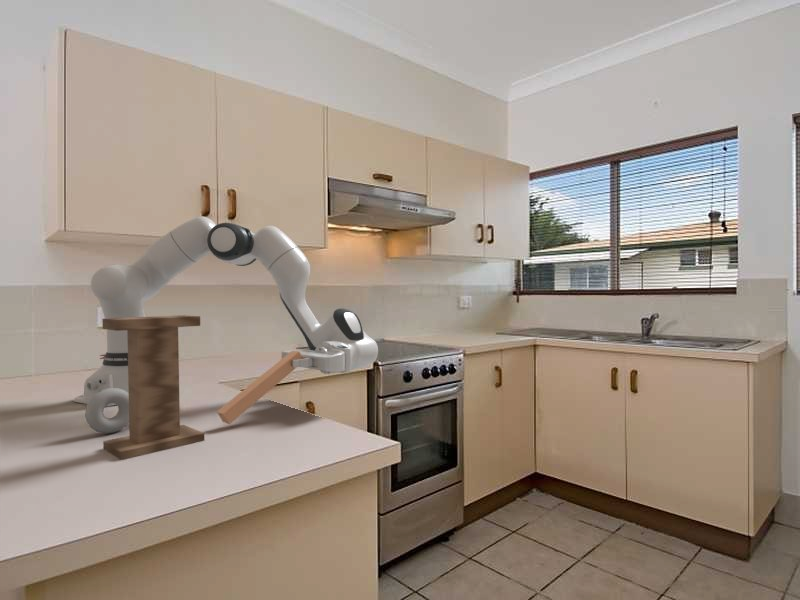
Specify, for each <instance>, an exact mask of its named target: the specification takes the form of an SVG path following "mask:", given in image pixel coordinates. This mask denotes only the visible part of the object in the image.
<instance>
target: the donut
mask: <svg viewBox="0 0 800 600" xmlns="http://www.w3.org/2000/svg"><path fill="white" fill-rule="evenodd" d="M110 403H115V404H117V405H116V406H117V408H118V411H117V413H116V414H115V415H114V416H112V417H106V416H105V414H104V410H105V408H106V407H108V406H107V405H108V404H110ZM84 415H85V421H86V423H87V424H88V426H89V427H90V428H91V429H92V430H94V431H95V432H97V433H101V434H114V433H116V432H120V431H121V430H122V429H123V430H124V428H126V427H127V426H129V393H128V392H126V391H125V390H122V389H119V388H108V389H105V390H102V391H100V392H99V393H97V394H95V395H94V396H93V397H92V399H91V400H90V401H89V403H88V404H86V406H85V413H84Z"/></svg>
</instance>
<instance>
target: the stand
mask: <svg viewBox="0 0 800 600" xmlns="http://www.w3.org/2000/svg"><path fill="white" fill-rule="evenodd" d="M101 321H102V330H106V331H107V330H115V331H121V330H127V335H128V387H129V423H128V428H129V429H128V430H129V433H128V434H129V435H126V436H123V437H117V438H112V439H108V440H103V441H102V442H103V443H102V444H103V447H102V449H103V450H104V451H106V452H108V453H110V454H112V456H114V457H116V458H117V459H119V460H120V461H123V460H126V459H130V458H135V457H139V456H143V455H149V454H152V453H153V454H154V453H157V452H160V451H164V450H169V449H174V448H178V447H181V446H187V445H190V444H194V443H199V442H203V441H205V432H202V431H200V430H198V429H196V428H193V427H190V426H188V425H185V424H181V421H180V420H181V417H180V416H181V413H180V412H181V411H180V364H179V363H180V362H179V361H180V360H179V354H180V353H179V349H180V348H179V328H183V327H184V328H187V327H201V316H199V315H185V314H184V315H183V314H182V315H165V316H164V315H161V316H160V315H159V316H146V317H131V318H108V319H105V318H102V320H101Z"/></svg>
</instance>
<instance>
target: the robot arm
mask: <svg viewBox="0 0 800 600" xmlns="http://www.w3.org/2000/svg"><path fill="white" fill-rule="evenodd" d="M211 254H212V255H213V256H214V257H215V258H217V259H219V260H221V261H223V262H224V263H227V264H231V265H235V266H238V267H239V266H240V267H245V266H248V265H252V264H253V263H254V262H256V261H257V260H258V261H259V262H260V263H261V264H262V265H263V266H264V268H265V269H266V270H267V271H268V272H269V274H270V275H271V276H272V278H273V279H274V281H275V283H276V286H277V287H278V291H279V297H280V299H281V301H282V303H283V305H284V307H285V309H286V310H287V312H288V313H289V315H290V317H291V319H292V320H293V321H294V322H295V325H296V326H297V328H298V329H299V331H300V332H301V334H302V335H303V338H304V339H305V342H306V344H307V346H308V349H291V350H283V351H281V359H282V358H284V357H285V356H286V355H287V354H289V353H290V352H291V351H299V352H300V354H301V356H302V358H303V359H295V360H291V367H297V368H303V369H308V370H309V369H310V370H318V371H319V372H321V373H323V375H331V374H337V373H342V374H343V373H345V374H346V373H351V371H355V370H356V371H357V370H359V369H364V368H367V367H370V366H371V365H373V364H374V363H375V361H376V360H377V359H378V355H379V346H378V343H377V342H376V340H374V339H373V338H372V337H371V336H369V335H367V333H366V332H365V330H364V329H363V326H362V323H361V321H360V319H359V317H358V315H357V314H356V313H355V312H353V311H351V310H350V309H346V308H343V307H342V308H337V309H335V310H334V311H333V312H331V314H330V315H329V316H328V317H327V318H326V319H324V320H323V322H322V323H320V322H319V320H318V319H317V318H316V317H315V315H314V313H313V312H312V309H311V308H310V307H309V306H308V303H307V301H306V289H307V286H308V282H309V280H310V275H311V266H310V262H309V260H308V257H306V255H305V253H303V251H302V250H301V249H300V247H298V245H297V244H296V243H295V242H294V241H293V240H292V239H291V238H290V237H289V236H288V235H287V234H286V233H285V232H283V231H282V229H281V230H280V229H279V228H278V227H277V226H275V225H274V226H273V225H268V226H267V225H265V226H264V227H262V228H260V229H259V230H257V231H256V232H252V231H251V229H249V228H246V227H244V226H242V225H239V224H236V223H231V222H221V223H215V222H214V220H212V219H211V218H209V217H206V216H197V217H194V218H191V219H190V220H187V221H186V222H184V223H182V224H180V225H178V226H176V227H175V228H173V229H172V230H170V231H169V232H168V233H166V234H164V235H163V236H162V237H160V238H159V239H157V240H156V241H154V242H153V243H151V244H150V245H148V246H147V248H146V250H145V252H144V253H143V254H142V256H141V257H139V259H137V260H136V261H134V262H133V263H131V264H128V265H127V264H117V263H116V264H112V265H107V266H104V267H101V268H99V269H98V270H96V271H95V273H94V274H93V275H92V277H91V280H90V287H91V290H92V293H93V294H94V296H95V297H96V298H97V299H98V301H99V303H100V307H101V309H102V314H103V316H104V319H108V318H131V317H147V316H146V314H145V310H144V305H143V303H145V302H149V300H151V299H153V298H155V297H156V296H157V294H158V293H159V292H160V291H161V290H163V289H164V288H165V287H166V285H167V284H169V283H170V282H171V281H172V280H173V279H174V278H175V277H176V276H178V275H180V274H181V273H182V272H184V271H185V270H186V269H188V268H190V267H192V266H193V265H194V264H195V263H197V262H198V261H200V260H201V259H203V258H204V257H206V256H207V255H211ZM106 347H107V348H106V351H107V352H105V354H100V355H99V357H100V358H99V360H103V361H102V366H100V367H99V368H98V369H97V370H95V371H94V373H92V374H91V375H90V376H89V377H87V378H86V379H85V381H84V385H83V394H82V395H78V396H77V397H74V398H73V399H74V400H73V401H74V402H75V403H80V404H86V405H88V403H89V401H90V400H91V399H92V397H93V396H94V395H95V394H97V393H99V392H100V391H102V390H105V389H108V388H119V389H122V390H125V391H126V392H128V393H129V387H128V335H127V330H121V331H115V330H107V329H106ZM111 406H117V404H115V403H110V404H108V405H107V406H106V407H111Z"/></svg>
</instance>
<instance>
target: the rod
mask: <svg viewBox="0 0 800 600" xmlns="http://www.w3.org/2000/svg"><path fill="white" fill-rule="evenodd" d="M295 359H303V358H302V356H301V354H300V352H299V351H291V352H290V353H289V354H287V355H286V356H285V357H284V358H282V357H281V358H280V360H279V361H277V362H276V363H275V364H274V365H273V366H271V367H269V368H268V370H266V371H265V372H264V373H263V374H262V375H260V376H259V377H257V378H256V379H255V380H254V381H253V382H252V383H250V384H249V385H248V386H247V387H246V388H244V389H243V390H241V392H239V393H238V394H237V395H235V396H234V397H232V398H231V399H230V400H229V401H228V402H227V403H226V404H224V405H223V406H222V407H221V408H219V409H218V410H217V411H216V413H217V415H218V417H219V418H220V419H221V422H223V423H225V424H228V425H230V424H232V423H233V422H234V421H235V420H236V419H238V418H239V417H240V416H241V415H242V414H244V413H245V412H246V411H247V410H249V408H251V407H252V406H253V405H254V404H256V403H257V402H258V401H259V400H261V398H262V397H264V395H266V394H267V393H268V392H269V391H270V390H273V388H274V387H276V386H277V384H279V383H280V382H281V381H282V380H284V379H285V378H286V377H288V375H289V374H291V373H292V372H293V371H294V370H295V369H296V368H298V367H291V360H295Z"/></svg>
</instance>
